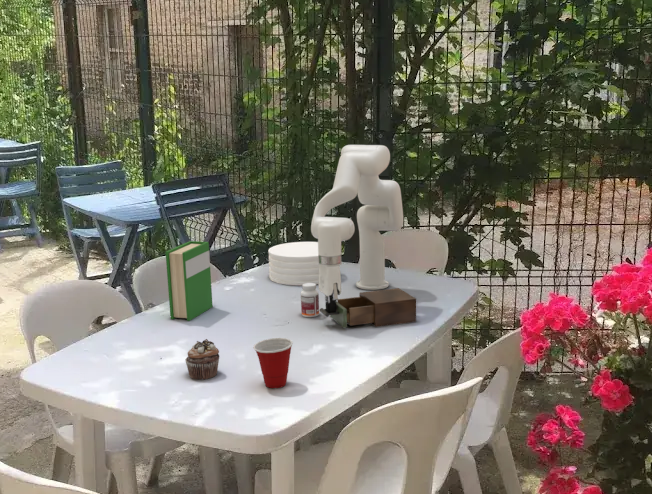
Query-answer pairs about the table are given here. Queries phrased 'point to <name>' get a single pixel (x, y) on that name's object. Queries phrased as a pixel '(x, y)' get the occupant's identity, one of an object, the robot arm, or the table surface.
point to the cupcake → (203, 360)
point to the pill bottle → (309, 300)
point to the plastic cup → (274, 360)
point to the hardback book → (189, 280)
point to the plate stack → (294, 263)
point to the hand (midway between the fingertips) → (331, 313)
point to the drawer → (352, 311)
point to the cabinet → (391, 306)
